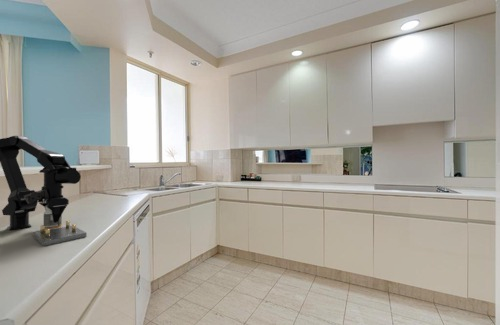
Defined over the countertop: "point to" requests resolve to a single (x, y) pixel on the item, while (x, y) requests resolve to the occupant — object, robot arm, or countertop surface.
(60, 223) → the pill bottle
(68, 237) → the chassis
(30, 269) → the countertop surface
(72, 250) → the countertop surface
